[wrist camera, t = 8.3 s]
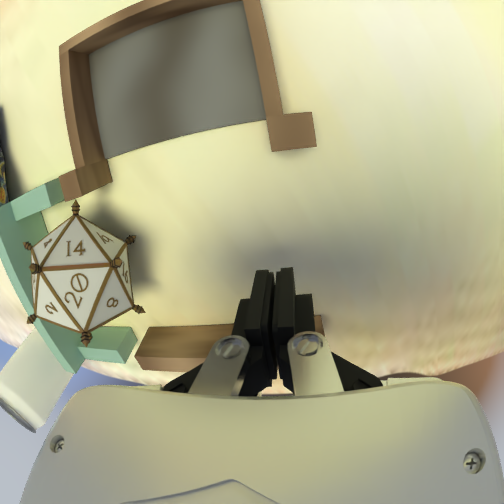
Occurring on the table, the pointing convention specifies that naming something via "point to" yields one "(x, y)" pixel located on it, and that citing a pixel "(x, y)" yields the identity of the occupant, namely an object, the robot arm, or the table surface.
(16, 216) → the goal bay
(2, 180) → the snack package
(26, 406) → the can
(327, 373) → the robot arm
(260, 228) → the table surface
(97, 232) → the game die
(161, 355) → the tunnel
